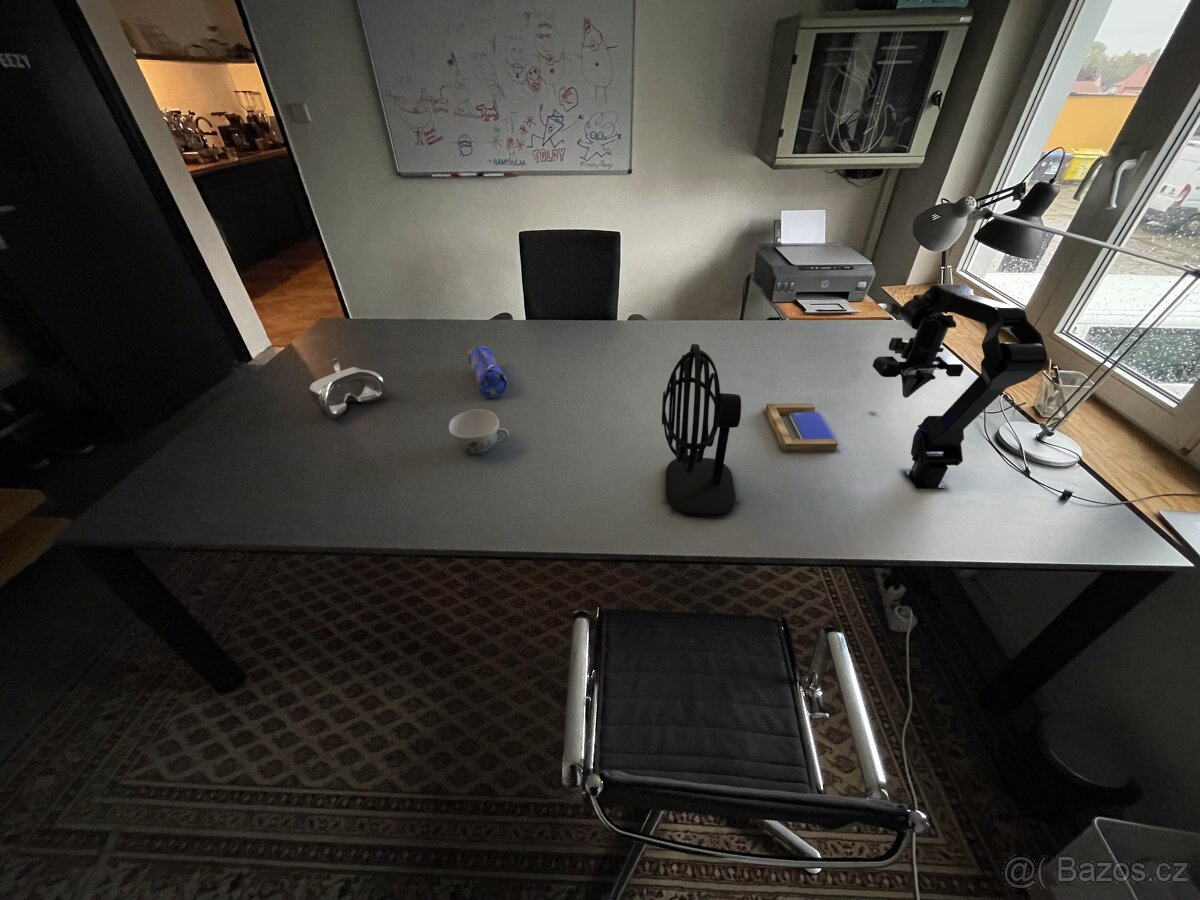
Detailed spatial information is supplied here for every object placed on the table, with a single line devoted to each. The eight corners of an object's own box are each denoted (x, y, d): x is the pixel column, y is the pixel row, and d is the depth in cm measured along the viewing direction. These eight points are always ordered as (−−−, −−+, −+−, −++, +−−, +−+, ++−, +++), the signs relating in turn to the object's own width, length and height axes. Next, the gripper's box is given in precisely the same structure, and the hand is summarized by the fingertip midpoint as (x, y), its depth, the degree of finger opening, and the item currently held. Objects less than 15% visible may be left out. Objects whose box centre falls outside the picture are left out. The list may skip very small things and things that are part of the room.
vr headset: (332, 425, 141) (313, 380, 132) (313, 411, 147) (294, 367, 138) (390, 399, 152) (376, 356, 143) (371, 387, 158) (356, 344, 149)
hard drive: (790, 412, 139) (803, 438, 130) (820, 412, 139) (835, 438, 129) (789, 417, 140) (802, 443, 131) (818, 417, 140) (834, 443, 130)
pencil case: (510, 397, 152) (506, 368, 146) (482, 403, 149) (476, 374, 143) (494, 365, 168) (490, 338, 162) (468, 370, 166) (463, 343, 160)
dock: (835, 451, 128) (837, 443, 126) (783, 451, 128) (785, 443, 127) (811, 410, 143) (813, 403, 141) (765, 411, 143) (766, 403, 142)
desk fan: (658, 450, 129) (666, 321, 108) (727, 454, 128) (749, 323, 106) (656, 526, 108) (666, 384, 87) (739, 532, 106) (770, 387, 85)
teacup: (446, 459, 128) (439, 434, 123) (465, 431, 137) (459, 407, 133) (502, 465, 125) (498, 439, 121) (518, 436, 135) (514, 411, 130)
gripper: (950, 324, 122) (926, 380, 132) (873, 324, 123) (854, 381, 132) (977, 344, 113) (949, 403, 123) (894, 345, 114) (872, 403, 123)
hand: (905, 396), depth 125 cm, fingers closed
